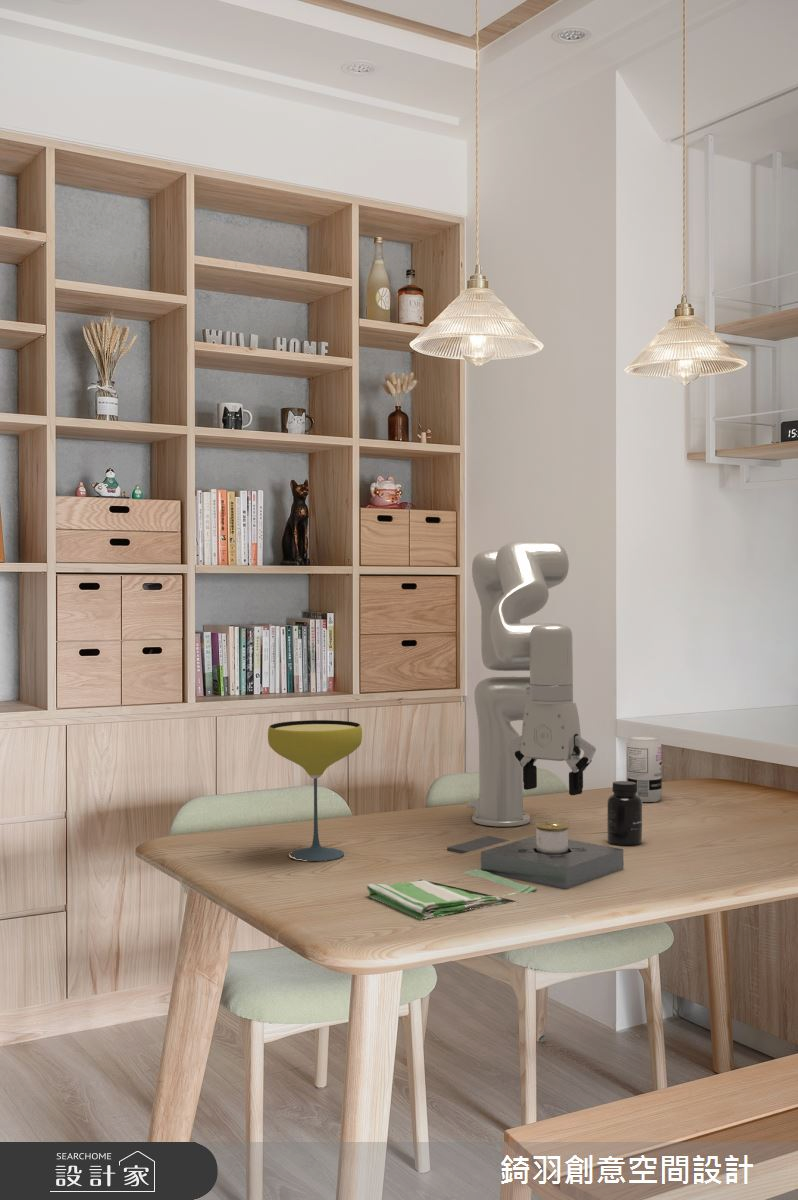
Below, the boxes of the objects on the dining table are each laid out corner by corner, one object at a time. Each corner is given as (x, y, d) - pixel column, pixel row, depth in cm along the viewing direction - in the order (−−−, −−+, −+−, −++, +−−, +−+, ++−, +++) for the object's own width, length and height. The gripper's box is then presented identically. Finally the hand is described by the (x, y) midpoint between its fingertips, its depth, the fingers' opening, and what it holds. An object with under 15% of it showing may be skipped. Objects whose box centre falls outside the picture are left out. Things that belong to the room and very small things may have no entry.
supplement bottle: (642, 847, 219) (642, 786, 219) (607, 845, 221) (606, 785, 221) (642, 839, 226) (641, 780, 226) (607, 838, 228) (607, 779, 227)
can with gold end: (529, 870, 198) (529, 823, 198) (548, 864, 202) (548, 818, 202) (556, 875, 194) (556, 827, 194) (575, 869, 198) (575, 822, 198)
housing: (481, 876, 197) (480, 851, 197) (540, 858, 211) (540, 834, 211) (566, 895, 185) (566, 868, 185) (623, 874, 199) (623, 849, 198)
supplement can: (622, 797, 272) (621, 736, 271) (655, 796, 272) (654, 735, 272) (632, 803, 264) (632, 740, 263) (666, 802, 264) (666, 739, 264)
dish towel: (539, 900, 184) (539, 884, 184) (423, 925, 171) (423, 907, 171) (474, 877, 199) (474, 862, 199) (362, 898, 186) (362, 882, 186)
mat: (447, 850, 218) (447, 847, 218) (488, 839, 227) (488, 836, 227) (500, 860, 209) (500, 857, 209) (540, 848, 219) (540, 845, 219)
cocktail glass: (270, 845, 223) (268, 720, 222) (360, 843, 224) (359, 719, 224) (267, 868, 205) (266, 732, 204) (365, 865, 206) (364, 730, 206)
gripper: (499, 693, 201) (500, 789, 200) (581, 698, 189) (582, 799, 189) (524, 691, 206) (525, 784, 206) (605, 695, 194) (606, 793, 194)
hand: (552, 791), depth 197 cm, fingers open, 9 cm apart
